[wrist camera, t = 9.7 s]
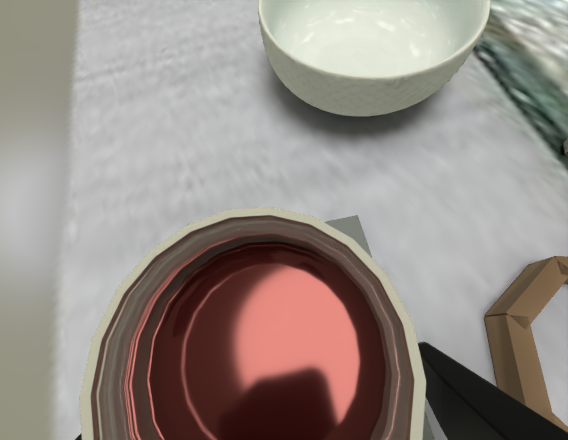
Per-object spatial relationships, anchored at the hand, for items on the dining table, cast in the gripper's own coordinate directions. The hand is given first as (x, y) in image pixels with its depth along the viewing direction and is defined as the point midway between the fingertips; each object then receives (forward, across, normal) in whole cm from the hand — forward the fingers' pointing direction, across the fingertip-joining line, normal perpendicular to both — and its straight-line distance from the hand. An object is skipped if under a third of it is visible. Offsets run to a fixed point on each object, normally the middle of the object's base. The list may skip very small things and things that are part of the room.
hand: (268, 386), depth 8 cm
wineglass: (+7, 0, +5) cm, 9 cm away
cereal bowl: (+23, -11, -9) cm, 27 cm away
